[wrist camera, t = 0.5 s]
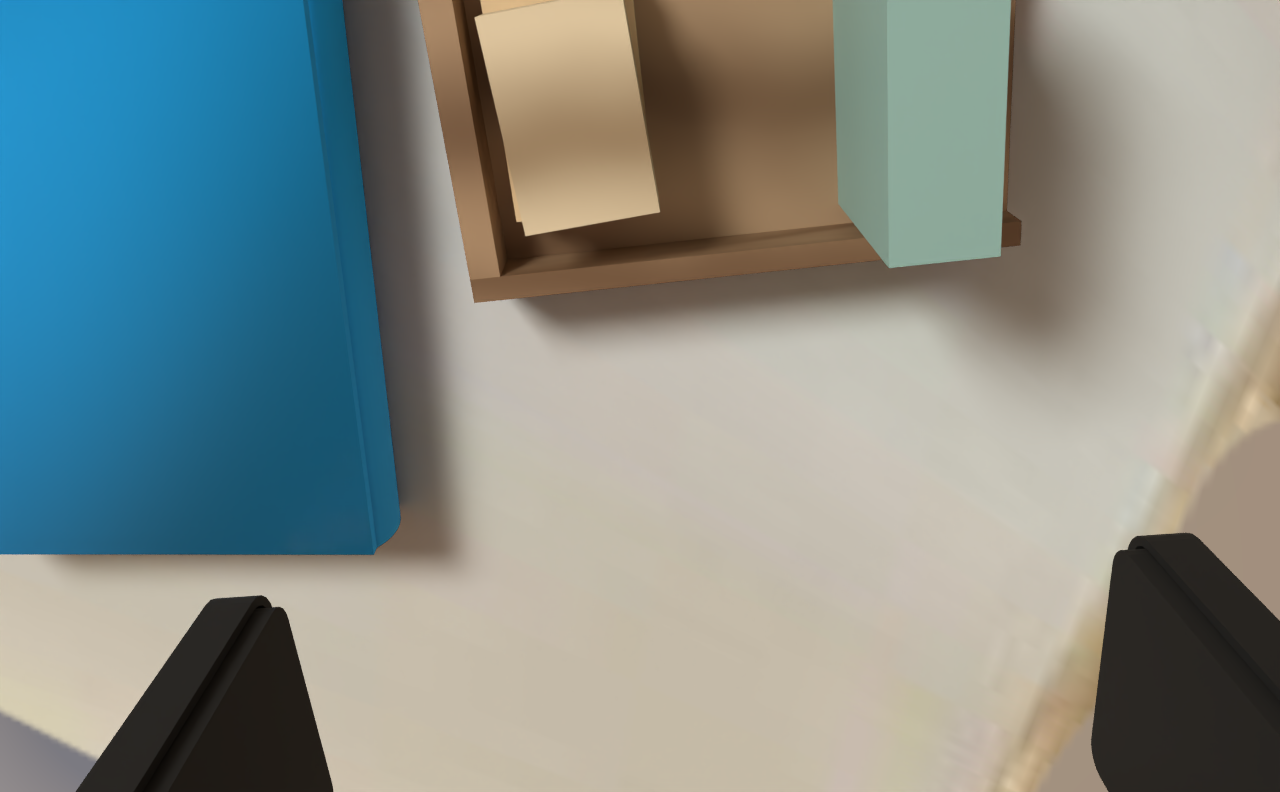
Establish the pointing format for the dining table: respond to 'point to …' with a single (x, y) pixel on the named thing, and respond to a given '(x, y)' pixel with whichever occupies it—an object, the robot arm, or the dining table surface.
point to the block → (922, 125)
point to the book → (186, 284)
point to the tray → (674, 153)
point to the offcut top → (570, 112)
